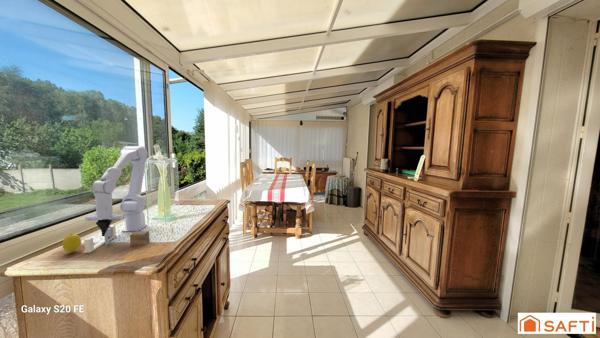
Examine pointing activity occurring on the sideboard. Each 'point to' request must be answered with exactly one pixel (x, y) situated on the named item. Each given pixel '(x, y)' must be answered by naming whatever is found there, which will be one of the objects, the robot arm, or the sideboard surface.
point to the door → (107, 235)
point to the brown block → (139, 238)
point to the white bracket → (89, 243)
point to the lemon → (71, 243)
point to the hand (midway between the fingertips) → (105, 235)
